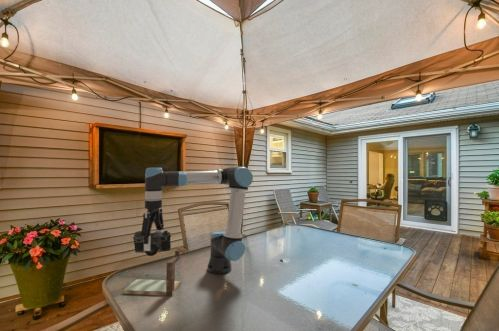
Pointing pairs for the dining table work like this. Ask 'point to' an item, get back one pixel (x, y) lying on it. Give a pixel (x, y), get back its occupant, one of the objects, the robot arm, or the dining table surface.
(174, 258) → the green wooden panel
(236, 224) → the robot arm
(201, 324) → the dining table surface
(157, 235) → the camera
